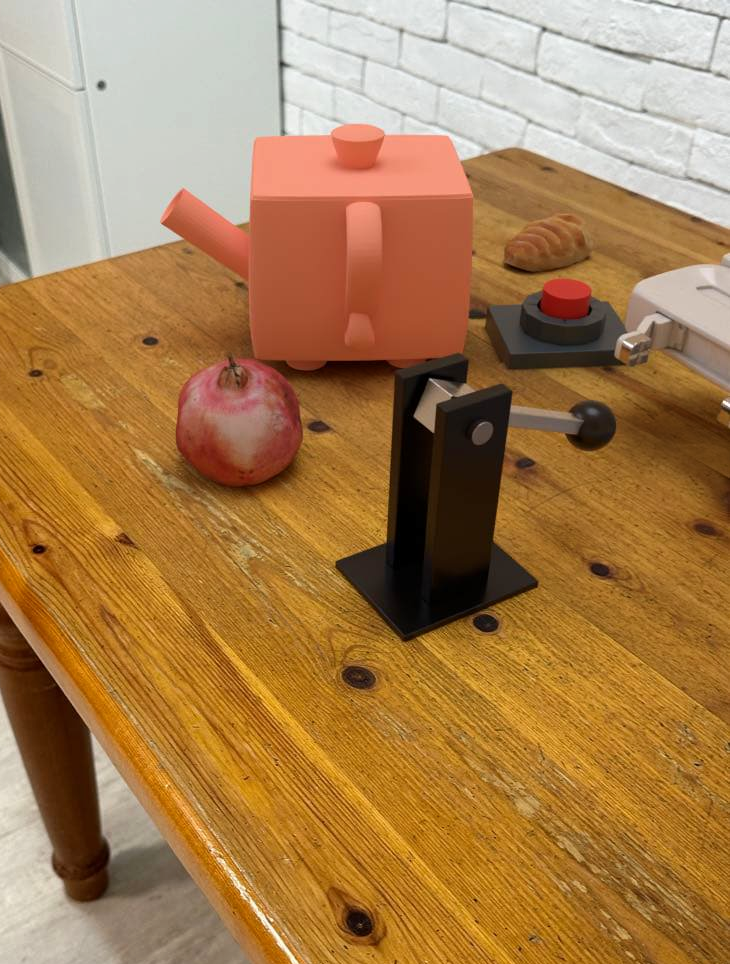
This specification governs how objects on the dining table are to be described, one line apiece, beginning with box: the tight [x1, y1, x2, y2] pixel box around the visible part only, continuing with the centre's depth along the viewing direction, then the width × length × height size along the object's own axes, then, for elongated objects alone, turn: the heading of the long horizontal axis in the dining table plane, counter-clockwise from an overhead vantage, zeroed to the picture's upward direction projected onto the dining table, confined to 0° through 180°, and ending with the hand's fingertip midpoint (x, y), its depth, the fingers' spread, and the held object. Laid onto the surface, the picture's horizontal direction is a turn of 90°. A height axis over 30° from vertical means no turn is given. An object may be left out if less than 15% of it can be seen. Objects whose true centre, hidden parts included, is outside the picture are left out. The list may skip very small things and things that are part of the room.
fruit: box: [175, 351, 304, 488], centre depth 73 cm, size 9×10×10 cm
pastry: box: [503, 212, 594, 273], centre depth 105 cm, size 9×7×4 cm
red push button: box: [540, 278, 593, 320], centre depth 88 cm, size 4×4×2 cm
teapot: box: [159, 123, 474, 371], centre depth 87 cm, size 25×23×18 cm
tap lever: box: [414, 378, 617, 452], centre depth 62 cm, size 15×3×3 cm, turn 120°
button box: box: [484, 289, 638, 371], centre depth 90 cm, size 11×9×4 cm
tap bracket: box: [334, 353, 539, 643], centre depth 62 cm, size 10×8×15 cm
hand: (672, 382), depth 68 cm, fingers open, 8 cm apart
